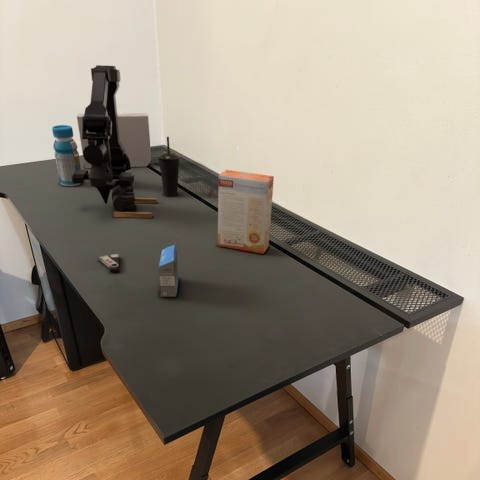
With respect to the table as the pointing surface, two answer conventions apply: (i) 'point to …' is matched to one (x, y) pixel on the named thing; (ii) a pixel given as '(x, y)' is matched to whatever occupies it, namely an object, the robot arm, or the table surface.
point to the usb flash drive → (111, 262)
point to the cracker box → (244, 210)
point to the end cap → (123, 199)
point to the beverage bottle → (65, 154)
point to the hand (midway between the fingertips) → (106, 203)
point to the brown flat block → (137, 214)
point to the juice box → (169, 271)
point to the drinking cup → (169, 171)
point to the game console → (129, 137)
